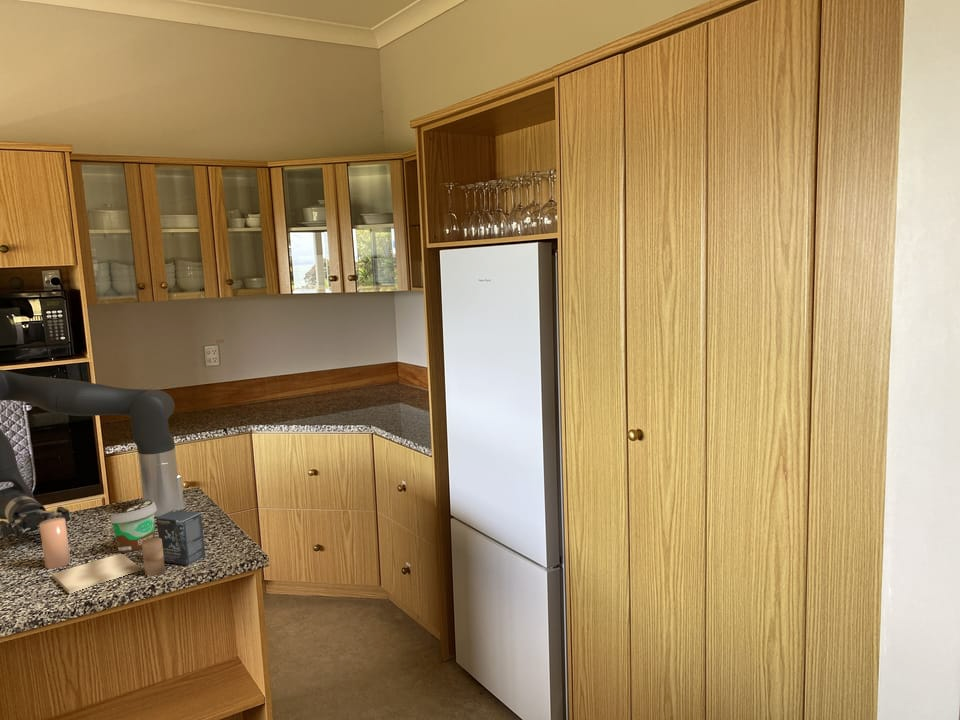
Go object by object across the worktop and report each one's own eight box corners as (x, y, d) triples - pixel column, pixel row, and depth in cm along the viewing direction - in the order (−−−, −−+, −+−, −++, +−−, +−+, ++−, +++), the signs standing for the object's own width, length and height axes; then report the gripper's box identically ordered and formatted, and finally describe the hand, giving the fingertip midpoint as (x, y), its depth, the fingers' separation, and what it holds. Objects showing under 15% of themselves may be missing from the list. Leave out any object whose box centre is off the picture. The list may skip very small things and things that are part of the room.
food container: (137, 557, 163) (133, 515, 162) (114, 556, 165) (109, 514, 163) (171, 536, 175) (166, 497, 174) (149, 536, 176) (144, 497, 175)
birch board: (121, 557, 164) (121, 553, 163) (140, 571, 155) (140, 567, 155) (52, 578, 154) (52, 573, 154) (69, 594, 145) (68, 589, 145)
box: (160, 562, 159) (155, 517, 158) (179, 552, 165) (174, 508, 163) (188, 566, 157) (183, 520, 155) (206, 556, 162) (201, 511, 160)
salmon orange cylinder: (67, 557, 165) (61, 516, 164) (73, 563, 162) (67, 520, 160) (42, 564, 162) (36, 522, 160) (48, 570, 158) (42, 527, 157)
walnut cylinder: (161, 566, 157) (157, 536, 156) (168, 571, 154) (164, 540, 153) (142, 572, 154) (138, 541, 153) (149, 577, 152) (145, 546, 151)
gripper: (-11, 506, 174) (4, 521, 163) (55, 491, 184) (73, 504, 173) (-6, 536, 175) (9, 552, 164) (58, 519, 185) (77, 534, 174)
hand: (42, 528), depth 168 cm, fingers open, 8 cm apart
